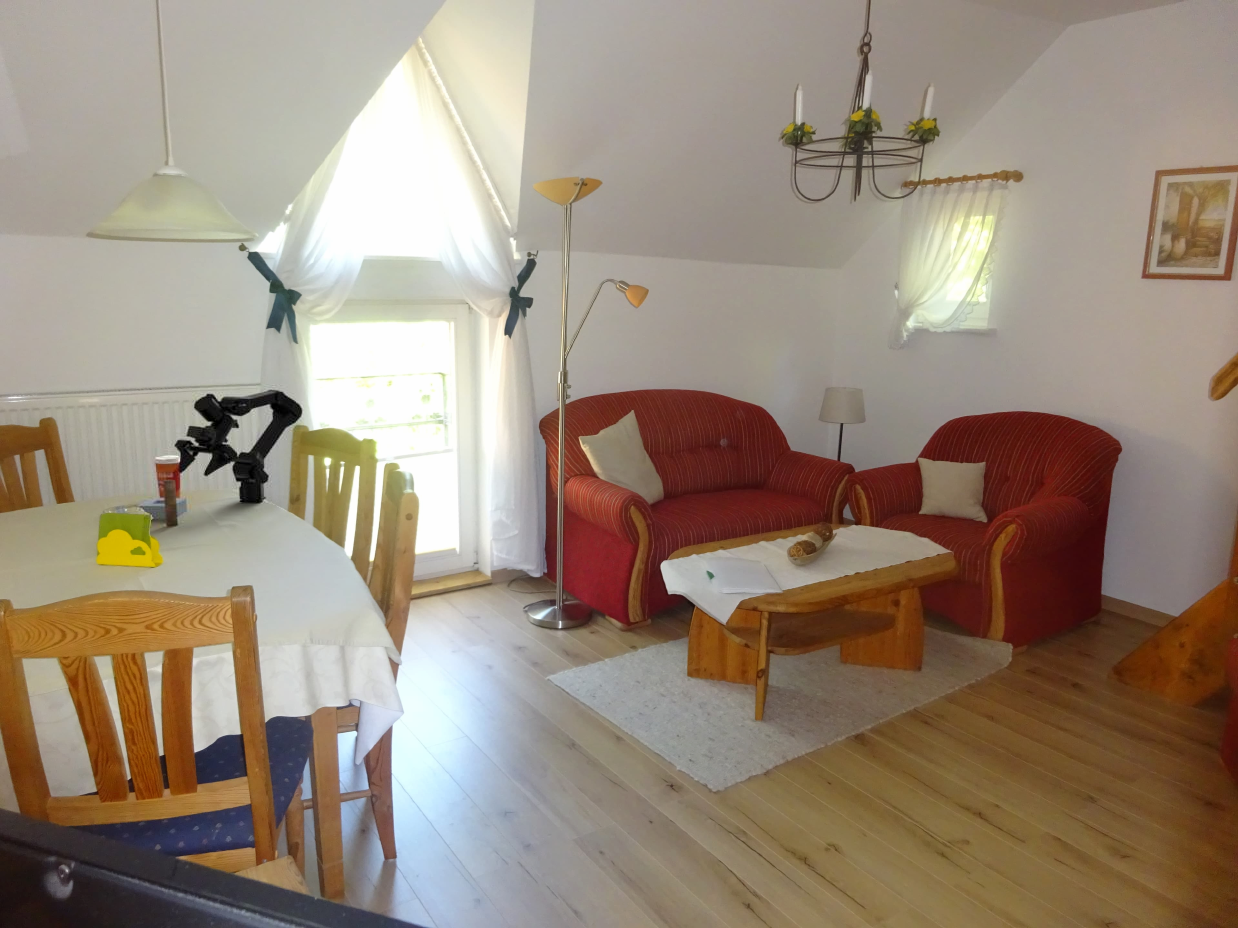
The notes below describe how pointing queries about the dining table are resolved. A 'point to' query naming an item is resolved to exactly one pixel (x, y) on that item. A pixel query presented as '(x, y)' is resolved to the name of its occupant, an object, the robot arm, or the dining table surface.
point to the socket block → (162, 507)
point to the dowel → (170, 503)
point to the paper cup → (167, 472)
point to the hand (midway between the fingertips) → (192, 473)
